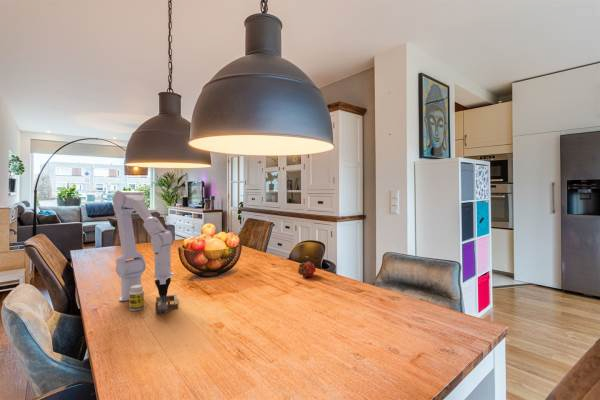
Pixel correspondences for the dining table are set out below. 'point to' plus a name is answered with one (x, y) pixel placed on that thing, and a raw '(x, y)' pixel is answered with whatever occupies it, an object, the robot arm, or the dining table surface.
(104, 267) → the dining table surface
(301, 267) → the dragon fruit
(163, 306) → the lock pin
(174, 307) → the mount
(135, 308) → the supplement bottle
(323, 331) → the dining table surface
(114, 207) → the robot arm
